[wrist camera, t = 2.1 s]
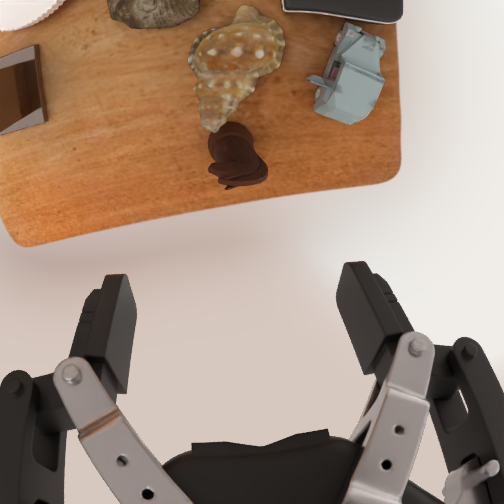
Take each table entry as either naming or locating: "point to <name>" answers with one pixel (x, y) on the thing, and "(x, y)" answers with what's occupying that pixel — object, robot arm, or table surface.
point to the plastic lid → (25, 12)
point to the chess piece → (235, 157)
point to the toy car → (350, 76)
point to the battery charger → (349, 9)
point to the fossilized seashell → (152, 12)
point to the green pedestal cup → (21, 91)
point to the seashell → (233, 63)
